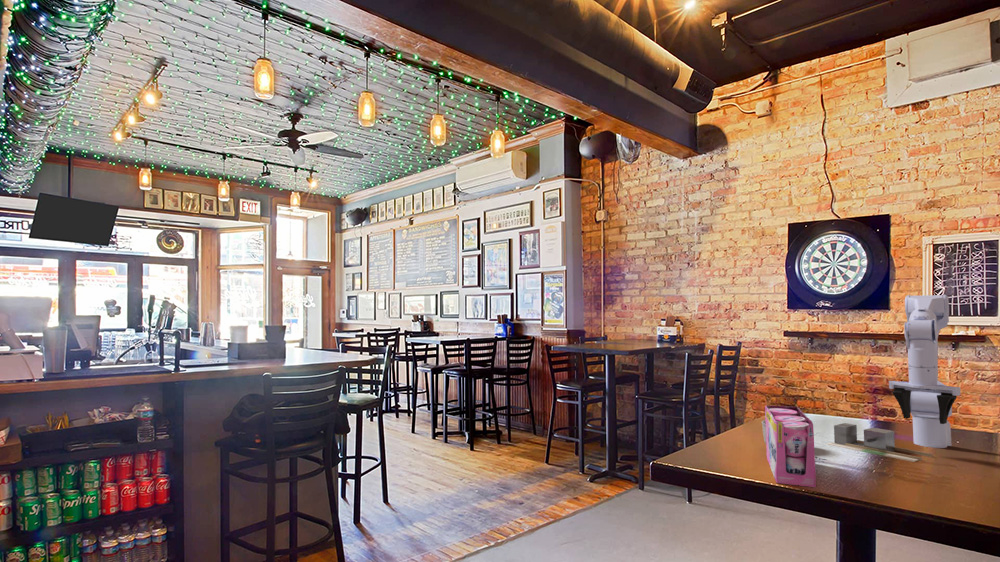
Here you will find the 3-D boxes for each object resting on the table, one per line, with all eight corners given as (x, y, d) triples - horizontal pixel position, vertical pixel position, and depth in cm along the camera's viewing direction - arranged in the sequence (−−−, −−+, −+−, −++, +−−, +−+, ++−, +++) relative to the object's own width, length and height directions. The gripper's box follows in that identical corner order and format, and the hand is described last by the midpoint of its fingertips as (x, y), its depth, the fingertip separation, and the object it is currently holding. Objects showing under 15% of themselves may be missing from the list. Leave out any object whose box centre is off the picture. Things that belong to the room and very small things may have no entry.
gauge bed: (845, 442, 154) (844, 420, 154) (939, 461, 135) (938, 436, 135) (823, 448, 147) (822, 425, 147) (918, 468, 129) (917, 442, 129)
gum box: (818, 490, 113) (816, 425, 114) (776, 485, 116) (774, 422, 117) (800, 460, 135) (798, 406, 136) (765, 457, 138) (764, 404, 139)
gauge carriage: (873, 446, 144) (872, 427, 145) (894, 450, 140) (893, 431, 140) (858, 450, 140) (857, 431, 140) (879, 454, 136) (879, 434, 136)
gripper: (882, 365, 141) (884, 417, 140) (951, 370, 129) (954, 427, 128) (894, 363, 145) (897, 414, 144) (962, 368, 132) (965, 424, 132)
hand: (924, 420), depth 136 cm, fingers open, 7 cm apart
